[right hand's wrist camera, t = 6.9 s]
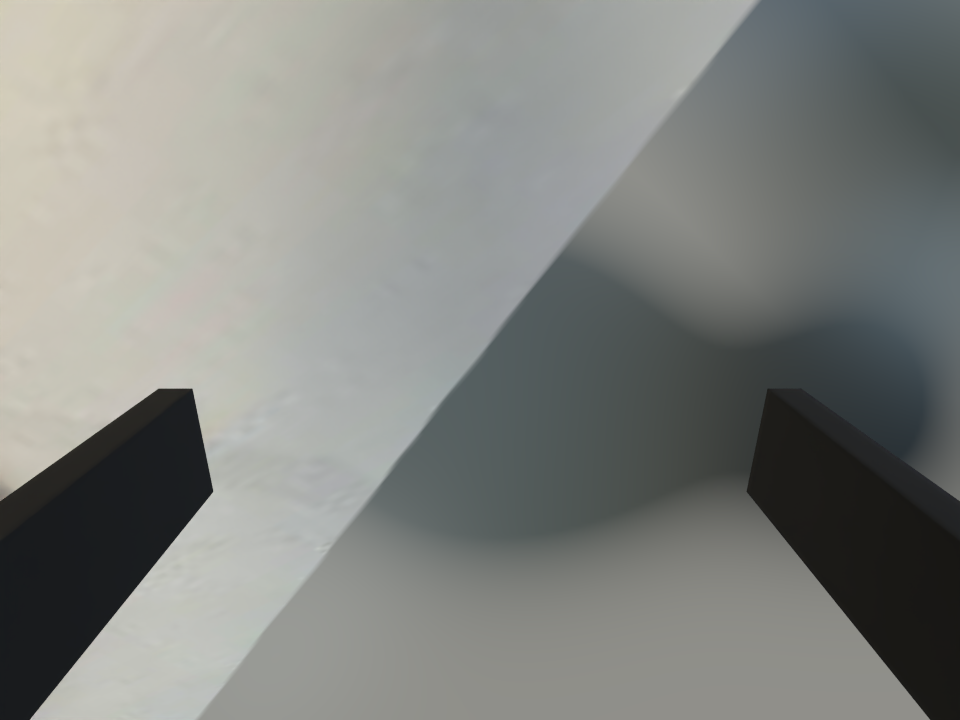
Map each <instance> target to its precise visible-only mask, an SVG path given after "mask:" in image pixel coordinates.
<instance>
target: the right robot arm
mask: <svg viewBox="0 0 960 720" xmlns="http://www.w3.org/2000/svg"><path fill="white" fill-rule="evenodd" d="M212 493H213V488H212V483H211V478H210V473H209V468H208V463H207V458H206V453H205V448H204V443H203V439H202V434H201V429H200V424H199V419H198V414H197V409H196V404H195V399H194V394H193V389H158V390H156V391H155V392H153V393H152V394H151V395H149V396H148V397H146V398H145V399H144V400H142V401H141V402H139V403H138V404H137V405H135V406H134V407H132V408H131V409H130V410H128V411H127V412H125V413H124V414H123V415H121V416H120V417H118V418H117V419H115V420H114V421H113V422H111V423H110V424H108V425H107V426H106V427H104V428H103V429H101V430H100V431H99V432H97V433H96V434H94V435H93V436H92V437H90V438H89V439H87V440H86V441H85V442H83V443H82V444H80V445H79V446H77V447H76V448H75V449H73V450H72V451H70V452H69V453H68V454H66V455H65V456H63V457H62V458H61V459H59V460H58V461H56V462H55V463H54V464H52V465H51V466H49V467H48V468H47V469H45V470H44V471H42V472H41V473H39V474H38V475H37V476H35V477H34V478H32V479H31V480H30V481H28V482H27V483H25V484H24V485H23V486H21V487H20V488H18V489H17V490H16V491H14V492H13V493H11V494H10V495H9V496H7V497H6V498H4V499H3V500H2V501H0V720H30V719H31V717H32V716H33V715H34V714H35V712H36V711H37V710H38V709H39V708H40V706H41V705H42V704H43V703H44V701H45V700H46V699H47V698H48V696H49V695H50V694H51V693H52V691H53V690H54V689H55V688H56V686H57V685H58V684H59V683H60V681H61V680H62V679H63V678H64V676H65V675H66V674H67V673H68V671H69V670H70V669H71V668H72V667H73V665H74V664H75V663H76V662H77V660H78V659H79V658H80V657H81V655H82V654H83V653H84V652H85V650H86V649H87V648H88V647H89V645H90V644H91V643H92V642H93V640H94V639H95V638H96V637H97V635H98V634H99V633H100V632H101V631H102V629H103V628H104V627H105V626H106V624H107V623H108V622H109V621H110V619H111V618H112V617H113V616H114V614H115V613H116V612H117V611H118V609H119V608H120V607H121V606H122V604H123V603H124V602H125V601H126V599H127V598H128V597H129V596H130V594H131V593H132V592H133V591H134V590H135V588H136V587H137V586H138V585H139V583H140V582H141V581H142V580H143V578H144V577H145V576H146V575H147V573H148V572H149V571H150V570H151V568H152V567H153V566H154V565H155V563H156V562H157V561H158V560H159V558H160V557H161V556H162V555H163V554H164V552H165V551H166V550H167V549H168V547H169V546H170V545H171V544H172V542H173V541H174V540H175V539H176V537H177V536H178V535H179V534H180V532H181V531H182V530H183V529H184V527H185V526H186V525H187V524H188V522H189V521H190V520H191V519H192V517H193V516H194V515H195V514H196V513H197V511H198V510H199V509H200V508H201V506H202V505H203V504H204V503H205V501H206V500H207V499H208V498H209V496H210V495H211V494H212ZM747 493H748V494H749V495H750V496H751V498H752V499H753V500H754V501H755V503H756V504H757V505H758V506H759V507H760V509H761V510H762V511H763V513H764V514H765V515H766V516H767V517H768V519H769V520H770V521H771V522H772V524H773V525H774V526H775V527H776V529H777V530H778V531H779V532H780V534H781V535H782V536H783V537H784V539H785V540H786V541H787V542H788V544H789V545H790V546H791V547H792V549H793V550H794V551H795V552H796V553H797V555H798V556H799V557H800V558H801V560H802V561H803V562H804V563H805V565H806V566H807V567H808V568H809V570H810V571H811V572H812V573H813V575H814V576H815V577H816V578H817V580H818V581H819V582H820V583H821V585H822V586H823V587H824V588H825V590H826V591H827V592H828V593H829V594H830V596H831V597H832V598H833V599H834V601H835V602H836V603H837V604H838V606H839V607H840V608H841V609H842V611H843V612H844V613H845V614H846V616H847V617H848V618H849V619H850V621H851V622H852V623H853V624H854V626H855V627H856V628H857V629H858V631H859V632H860V633H861V634H862V635H863V637H864V638H865V639H866V640H867V642H868V643H869V644H870V645H871V647H872V648H873V649H874V650H875V652H876V653H877V654H878V655H879V657H880V658H881V659H882V660H883V662H884V663H885V664H886V665H887V667H888V668H889V669H890V670H891V671H892V673H893V674H894V675H895V676H896V678H897V679H898V680H899V681H900V683H901V684H902V685H903V686H904V688H905V689H906V690H907V691H908V693H909V694H910V695H911V696H912V698H913V699H914V700H915V701H916V703H917V704H918V705H919V706H920V707H921V709H922V710H923V711H924V712H925V714H926V715H927V716H928V717H929V719H930V720H960V501H958V500H957V499H956V498H954V497H953V496H951V495H950V494H949V493H947V492H946V491H944V490H943V489H942V488H940V487H939V486H937V485H936V484H935V483H933V482H932V481H930V480H929V479H927V478H926V477H925V476H923V475H922V474H921V473H919V472H918V471H916V470H915V469H913V468H912V467H911V466H909V465H908V464H906V463H905V462H904V461H902V460H901V459H899V458H898V457H897V456H895V455H894V454H892V453H891V452H890V451H888V450H887V449H885V448H884V447H883V446H881V445H880V444H878V443H877V442H875V441H874V440H873V439H871V438H870V437H868V436H867V435H866V434H864V433H863V432H861V431H860V430H859V429H857V428H856V427H854V426H853V425H852V424H850V423H849V422H847V421H846V420H845V419H843V418H842V417H840V416H839V415H837V414H836V413H835V412H833V411H832V410H830V409H829V408H828V407H826V406H825V405H823V404H822V403H821V402H819V401H818V400H816V399H815V398H813V397H812V396H811V395H809V394H808V393H807V392H805V391H804V390H802V389H768V390H767V394H766V399H765V404H764V409H763V414H762V419H761V424H760V429H759V434H758V439H757V443H756V448H755V453H754V458H753V463H752V468H751V473H750V478H749V483H748V488H747Z"/></svg>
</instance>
